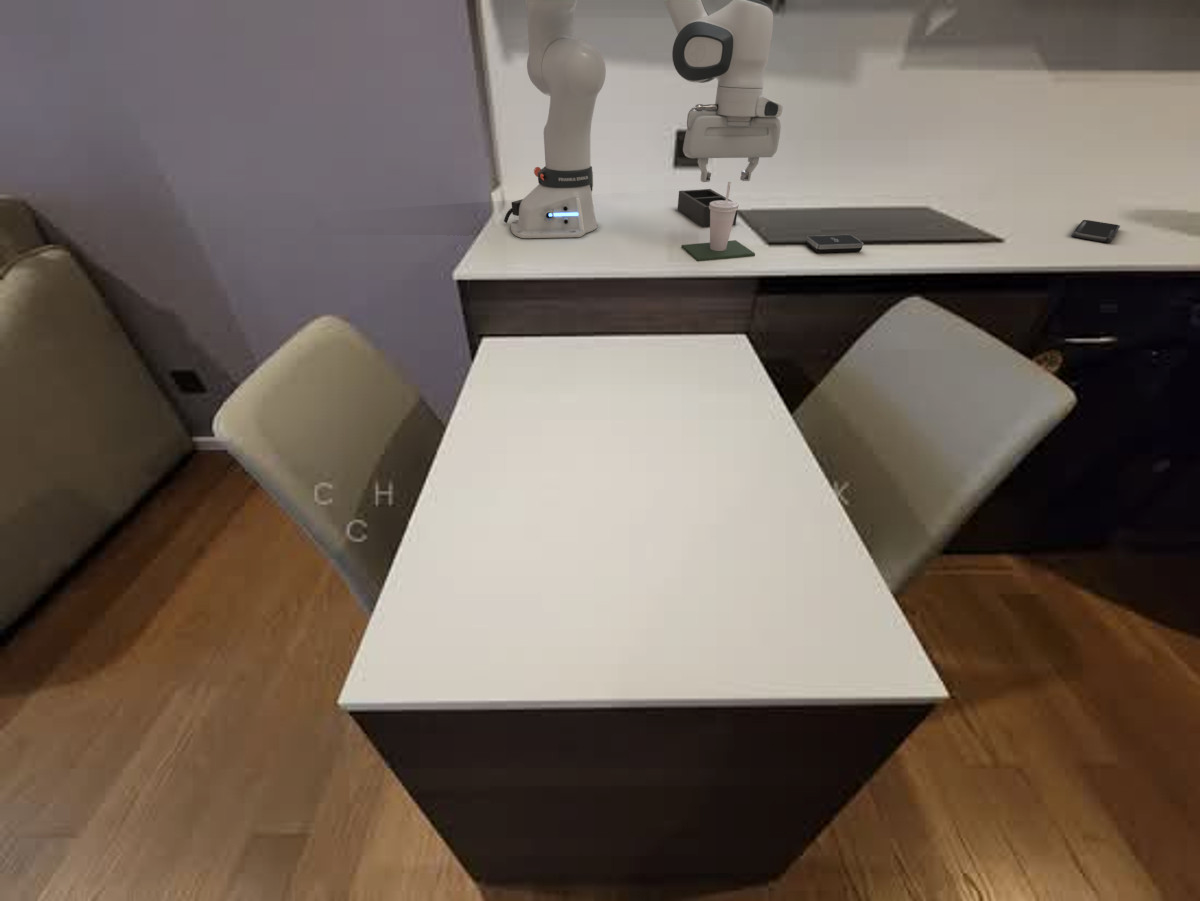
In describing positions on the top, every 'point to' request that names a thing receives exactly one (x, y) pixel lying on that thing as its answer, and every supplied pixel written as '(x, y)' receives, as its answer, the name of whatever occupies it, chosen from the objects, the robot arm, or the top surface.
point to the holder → (699, 205)
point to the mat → (705, 253)
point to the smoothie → (721, 221)
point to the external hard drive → (834, 243)
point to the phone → (1096, 231)
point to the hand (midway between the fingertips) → (725, 181)
